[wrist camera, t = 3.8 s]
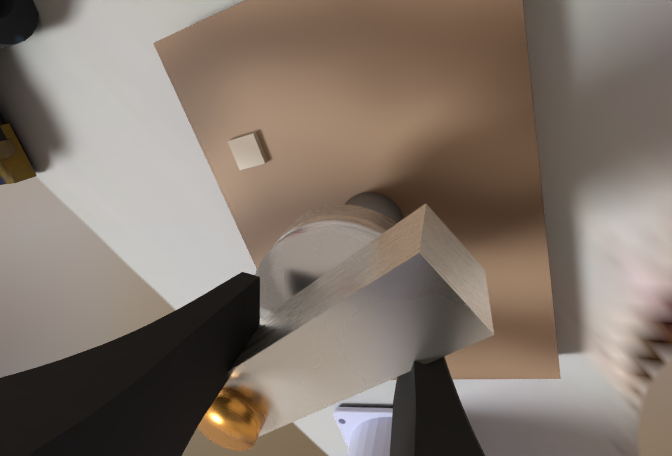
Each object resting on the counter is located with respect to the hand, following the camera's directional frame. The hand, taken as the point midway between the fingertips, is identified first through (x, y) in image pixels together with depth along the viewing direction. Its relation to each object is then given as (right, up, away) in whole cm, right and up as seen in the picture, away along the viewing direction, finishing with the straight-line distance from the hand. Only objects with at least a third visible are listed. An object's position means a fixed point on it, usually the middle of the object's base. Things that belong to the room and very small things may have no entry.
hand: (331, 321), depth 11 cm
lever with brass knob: (+1, +1, +2) cm, 2 cm away
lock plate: (+2, +4, +7) cm, 8 cm away
